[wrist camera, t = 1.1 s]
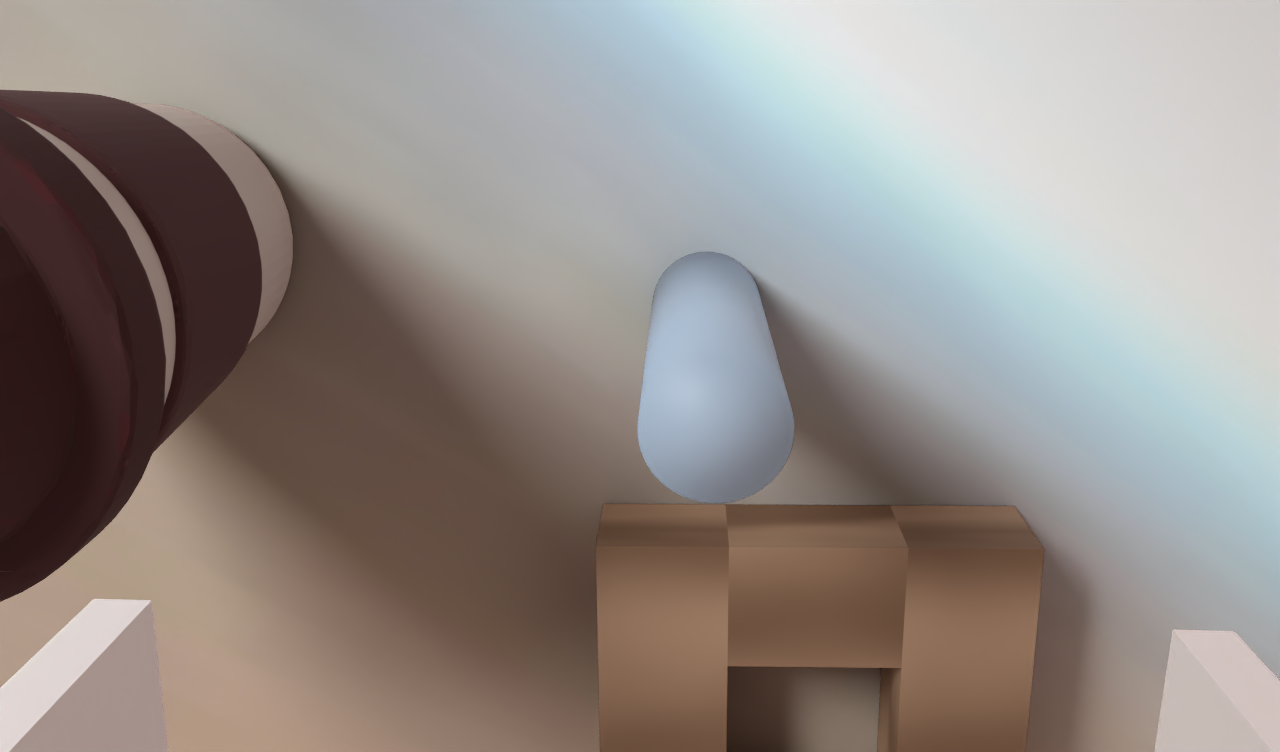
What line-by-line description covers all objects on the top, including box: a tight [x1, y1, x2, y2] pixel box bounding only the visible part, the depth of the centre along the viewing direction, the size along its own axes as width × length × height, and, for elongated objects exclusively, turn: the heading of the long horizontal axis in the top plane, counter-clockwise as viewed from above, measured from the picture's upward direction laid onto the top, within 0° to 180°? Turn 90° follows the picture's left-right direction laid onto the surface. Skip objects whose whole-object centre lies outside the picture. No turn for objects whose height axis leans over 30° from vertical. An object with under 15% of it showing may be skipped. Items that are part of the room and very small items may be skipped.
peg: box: [637, 252, 794, 503], centre depth 28 cm, size 3×3×11 cm
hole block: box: [596, 504, 1044, 752], centre depth 35 cm, size 12×12×3 cm
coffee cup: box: [0, 90, 293, 602], centre depth 26 cm, size 10×10×15 cm
